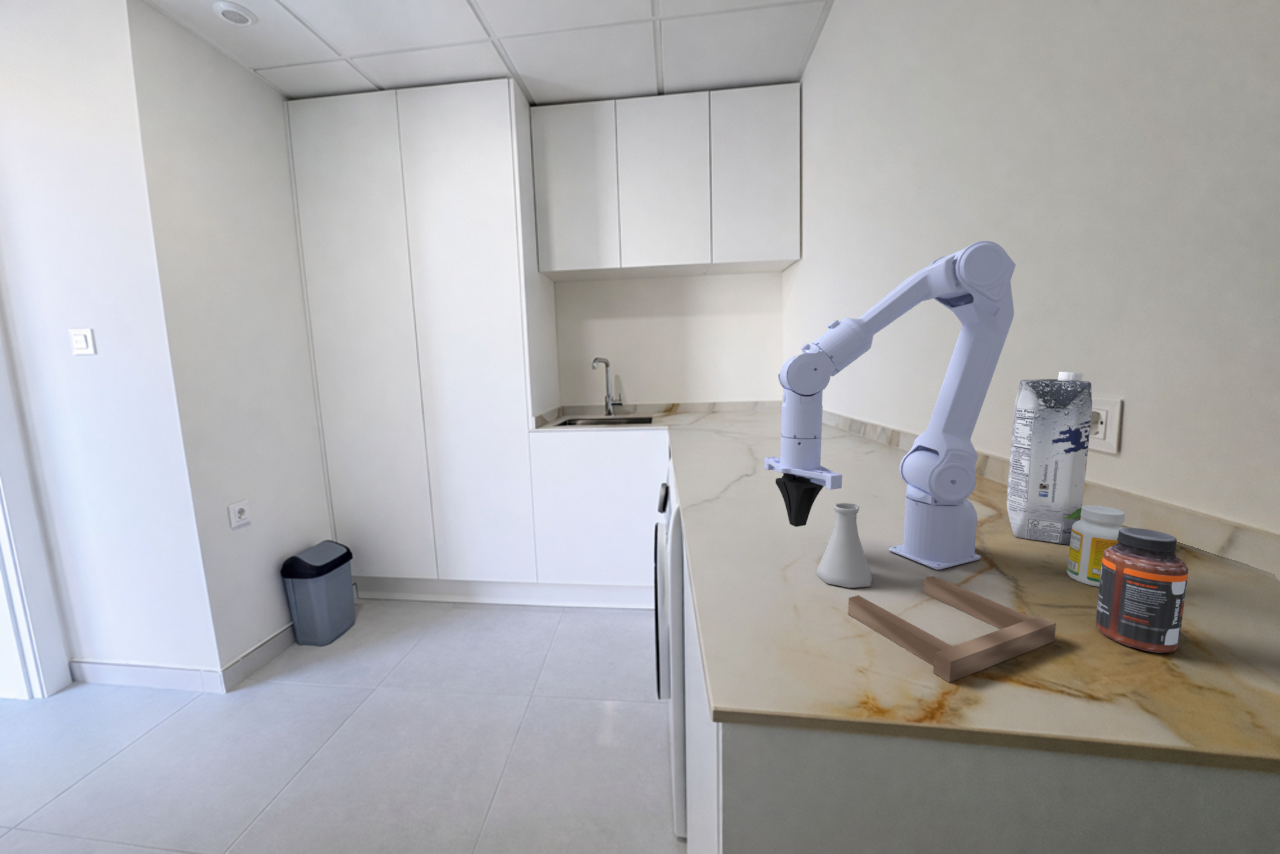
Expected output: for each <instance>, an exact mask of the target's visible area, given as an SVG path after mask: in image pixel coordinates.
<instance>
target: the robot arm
mask: <svg viewBox="0 0 1280 854" xmlns="http://www.w3.org/2000/svg"><path fill="white" fill-rule="evenodd" d="M1015 269H1016V263H1015V262H1014V261H1013V258H1011V257H1010V256H1009V254H1008V253H1007V251H1006V250H1005V249H1004V248H1003V247H1002V246H1001V245H1000V244H998V243H997V242H994V241H990V240H978V241H976V242H973V243H970V244H969V245H967V246H966V247H965V248H962V249H960V250H958V251H955V252H953V253H951V254H949V255H945V256H941V257H939V258H937V259H935V260H933V261H932V262H931V263H930V264H929V265H927V266H925V267H922V268H921V269H919V270H918V271H915V272H914V273H913V274H911V275H909V276H908V277H907V278H906V279H905V280H904V281H902V282H901V283H900V284H898V285H897V286H896V287H895V288H894V289H892V290H891V291H890V292H889V293H888V294H887V295H885V296H884V297H883V298H882V299H880V300H879V301H878V302H877V303H875V304H874V305H873V306H871V308H869V309H868V310H867V311H865V313H863V314H862V315H861V316H860V317H858V318H850V317H845V318H842V319H841V320H838V319H836V320H833V321H832V322H830V323H829V324H827V328H828V330H827V331H826V332H824V333H823V334H822V335H821V336H819V337H818V338H816V339H815V340H814V341H813V342H811V343H810V344H809V343H805V344H803V345H802V346H801V348H800V349H801V351H802V353H801V354H799V355H793V356H791V357H790V358H787V360H785V362H784V363H783V364H782V365H781V368H780V371H779V373H778V375H777V378H778V382H779V385H780V386H781V387H782V388H783V389H782V405H781V411H780V412H781V413H780V414H781V415H780V417H781V418H780V419H781V420H780V450H779V451H780V456H779V457H776V456H769V457H767V456H766V457H764V460H763V461H764V463H763V464H764V465H763V467H764V468H763V469H764V470H766V471H774V472H777V473H780V474H783V475H782V476H781V477H777V478H775V485H776V486H777V488H778V491H779V492H780V494H781V497H782V499H783V502H784V505H785V509H786V513H787V514H786V515H787V519H788V522H789V525H791V526H793V527H794V528H795V527H796V528H797V527H798V528H799V527H802V526H803V527H804V526H806V525H807V522H808V518H809V516H810V514H811V513H810V512H811V510H812V507H813V506H814V503H815V501H816V498H817V497H818V495H819V494H820V492H821V491H822V489H823V488H824V487H825V489H827V490H829V491H830V490H838V489H839V490H840V489H842V488H843V486H842V485H843V474H841V473H837V472H835V471H833V470H831V469H829V468H826V467H824V466H823V465H821V458H822V454H821V453H822V435H823V434H822V430H823V429H822V428H823V408H824V407H823V393H824V390H825V389H826V388H827V386H828V385H829V383H830V381H831V377H834V376H836V375H837V374H839V373H840V372H842V371H843V370H844V369H845V368H847V367H848V366H849V365H850V364H852V363H854V362H855V361H856V360H858V359H859V358H860V357H861V356H863V355H865V354H866V353H867V352H868V351H869V350H870V349H871V348H872V344H873V339H874V336H875V335H876V334H877V333H879V332H881V330H883V329H885V328H886V327H887V326H889V325H890V324H892V323H894V322H895V321H896V320H897V319H899V318H901V317H902V316H903V315H905V314H906V313H907V312H909V311H910V310H912V309H913V308H915V307H916V306H918V305H919V304H920V303H922V302H924V301H925V302H926V301H929V300H933V299H934V300H935V301H937V302H938V303H939V304H941V305H942V306H944V307H945V308H947V309H948V310H949V311H950V312H953V314H954V315H955V317H957V319H958V320H959V322H960V323H961V328H960V332H959V334H958V337H957V339H956V343H955V346H954V348H953V352H952V355H951V357H950V361H949V363H948V367H947V369H946V372H945V376H944V378H943V381H942V385H941V387H940V389H939V390H940V391H939V393H938V396H937V399H936V402H935V405H934V407H933V411H932V413H931V416H930V418H929V422H928V425H927V428H926V429H925V430H924V431H923V432H921V434H919V435H918V436H917V437H916V438H915V439H914V441H913V444H912V447H911V448H910V450H909V451H908V452H907V453H906V454H905V455H904V456H903V457H902V458H901V461H900V463H899V468H898V469H899V471H898V472H899V475H900V477H901V479H902V480H903V482H904V483H905V484H906V490H905V499H904V503H905V505H904V519H903V520H904V521H903V538H902V540H903V541H902V544H898V545H894V546H890V547H888V550H889V551H890V552H892V553H894V554H897V555H899V556H902V557H904V558H907V559H910V560H911V561H914V562H916V563H919V564H920V565H921V564H922V565H924V566H927V567H929V568H931V569H933V570H943V569H947V568H951V567H954V566H958V565H962V564H967V563H972V562H975V561H980V560H981V559H982V558H981V557H982V556H981V555H979V554H977V553H976V551H975V550H976V541H977V540H976V539H977V538H976V537H977V527H978V513H977V511H976V508H975V506H974V505H973V503H972V502H971V501H970V500H969V499H968V498H969V497H970V496H971V495H972V494H973V492H974V490H975V489H976V485H977V475H976V465H977V462H978V459H979V456H978V453H977V450H976V448H975V447H974V445H973V443H972V441H971V438H972V436H973V433H974V430H975V428H976V424H977V421H978V419H979V417H980V416H979V415H980V414H981V410H982V407H983V404H984V401H985V399H986V397H987V393H988V391H989V387H990V385H991V383H992V379H993V377H994V373H995V371H996V368H997V365H998V362H999V360H1000V357H1001V354H1002V351H1003V349H1004V345H1005V343H1006V340H1007V337H1008V335H1009V332H1010V328H1011V326H1012V324H1013V319H1014V315H1015V309H1014V300H1013V291H1012V285H1011V281H1012V277H1013V275H1014V272H1015Z"/></svg>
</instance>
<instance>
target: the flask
mask: <svg viewBox="0 0 1280 854" xmlns="http://www.w3.org/2000/svg"><path fill="white" fill-rule="evenodd" d="M833 510H834V511H835V517H834V518H835V521H834V524H833V529H832V533H831V536H830V538H829V541H828V543H827V547H826V548H825V551H824V553H823V555H822V558H821V559H820V562H819V564H818V567H817V569H816V571H815V575H816V576H817V577H819V578H820V579H821V580H822V581H823V582H824V583H826V584H828V585H829V584H830V585H832V586H833V585H834V586H837V587H838V586H840V587H843V588H849V589H852V588H865V587H871V586H872V581H873V576H872V572H871V570H870V566H869V564H868V561H867V558H866V555H865V552H864V549H863V546H862V541H861V538H860V536H859V530H858V522H857V516H858V513H859V510H860V506H859V505H857V504H855V503H847V502H836V503H834V504H833Z"/></svg>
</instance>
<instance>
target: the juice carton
mask: <svg viewBox="0 0 1280 854" xmlns="http://www.w3.org/2000/svg"><path fill="white" fill-rule="evenodd" d="M1083 377H1084V373H1081V372H1070V371H1059V372H1058V377H1057V378H1056V379H1054V378H1048V379H1047V378H1046V379H1045V378H1043V379H1022V380H1020V381H1019V385H1018V388H1017V392H1016V393H1017V394H1016V397H1015V401H1014V408H1013V420H1012V432H1011V444H1010V455H1009V464H1008V465H1009V467H1008V479H1007V490H1006V491H1007V492H1006V510H1007V515H1008V520H1009V524H1010V526H1011V531H1012V534H1013V535H1014V537H1015V538H1019V539H1025V540H1026V539H1027V540H1033V541H1034V540H1035V541H1041V542H1046V543H1054V544H1059V545H1067V546H1070V539H1071V531H1072V525H1073V524H1074V523H1075V522H1076V521H1079V520H1082V518H1081V515H1080V514H1081V508H1082V506H1083V501H1084V492H1085V483H1086V482H1085V481H1086V473H1087V463H1088V454H1089V446H1090V445H1089V442H1090V436H1091V435H1090V434H1091V426H1092V425H1091V423H1092V416H1093V415H1092V414H1093V413H1092V412H1093V393H1092V383H1091V381H1089V380H1088V381H1087V380H1083Z"/></svg>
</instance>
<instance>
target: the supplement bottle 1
mask: <svg viewBox="0 0 1280 854" xmlns="http://www.w3.org/2000/svg"><path fill="white" fill-rule="evenodd" d="M1080 515H1081V519H1080V520H1079V521H1076V522H1075V523H1074V524H1073V525H1072V531H1071V539H1070V545H1069V548H1068V549H1069V550H1068V557H1067V564H1066V565H1067V566H1066V573H1067V575H1068V576H1069V577H1070V578H1071V579H1073V580H1075V581H1077V582H1079V583H1082V584H1085V585H1089V586H1092V587H1098V588H1099V585H1100V576H1101V567H1102V558H1103V553H1104V551H1105V550H1106V549H1107V548H1109V547H1111V546H1114V545H1115V544H1117V543H1118V540H1117V538H1118V534H1119V529H1121V528H1124V527H1123V526H1121V525H1123V524H1124V523H1125V519H1126V518H1125V515H1126V513H1125V511H1122V510H1121V509H1118V508H1114V507H1109V506H1104V505H1103V506H1101V505H1093V504H1091V505H1090V504H1086V505H1082V508H1081V514H1080Z"/></svg>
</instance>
